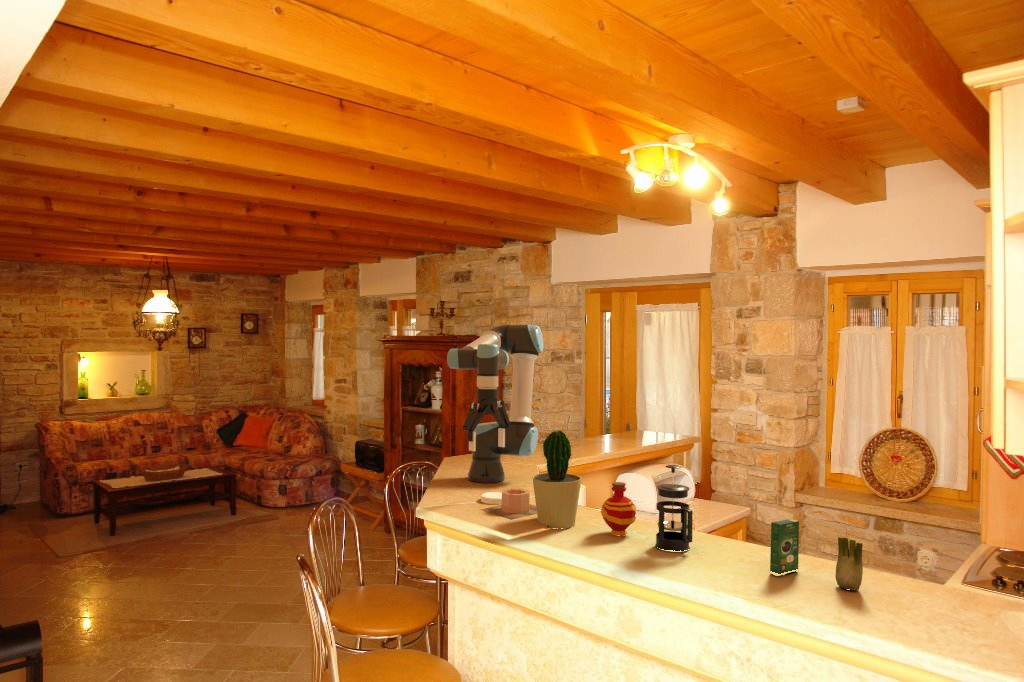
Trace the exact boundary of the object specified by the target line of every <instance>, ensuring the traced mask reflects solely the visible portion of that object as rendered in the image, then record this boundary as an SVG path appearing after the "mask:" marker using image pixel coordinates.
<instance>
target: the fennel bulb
mask: <svg viewBox="0 0 1024 682" xmlns="http://www.w3.org/2000/svg"><path fill="white" fill-rule="evenodd" d="M837 543H838V544H837V545H838V556H837V561H836V567H835V580H836V583H837V585H838V587H840V588H841V587H842V588H841V589H843V588H845V589H850V590H858V591H859V590H860V587H861V585H862V581H863V580H862V579H863V572H864V571H863V570H864V569H863V567H864V566H863V545H864V544H863V543H862V542H861V541H857V540H856V539H852V538H851V539H849V538H848V537H844V536H838V537H837ZM845 589H844V590H845Z"/></svg>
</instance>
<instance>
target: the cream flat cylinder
mask: <svg viewBox="0 0 1024 682" xmlns="http://www.w3.org/2000/svg"><path fill="white" fill-rule="evenodd" d="M480 497H481V499H480V501H481V502H482V503H483V504H486V505H502V491H501V492H500V491H491V492H490V491H489V492H483V493H482V494H481V495H480Z"/></svg>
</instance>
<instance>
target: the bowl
mask: <svg viewBox="0 0 1024 682" xmlns="http://www.w3.org/2000/svg"><path fill="white" fill-rule="evenodd" d="M501 492H502V504H501V505H502V511H503V512H507V513H520V514H521V513H525V512H529V504H530V490H528V489H524V488H507V489H503V490H502V491H501Z"/></svg>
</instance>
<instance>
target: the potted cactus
mask: <svg viewBox="0 0 1024 682" xmlns="http://www.w3.org/2000/svg"><path fill="white" fill-rule="evenodd" d="M564 431H565V430H563V431H562V430H559V429H558V430H557V429H555V430H554V431H550V433H549V435H546V437H545V439H544V440H543V441H541V443H542V444H543V445H542V458H544V459H545V462H546V465H545V467H546V471H547V472H542V473H537V474H534V475H533V476H532V486H533V491H534V499H535V501H534V502H535V506H536V509H537V514H536V516H537V521H538V523H539V524H542V525H547V526H546V527H547V528H558V529H557V530H562V529H561V528H569V527H572V526H573V527H575V525H576V524H575V523H576V520H577V519H576V518H577V517H576V516H577V510H578V504H579V497H580V491H581V484H582V477H581V476H580V475H578V474H574V473H570V472H569V471H570V470H569V468H570V467H571V465H570V463H569V462H572V460H573V459H572V449H571V448H572V447H573V445H571V440H570V439H569V436H567V435H566V434H565V433H566V432H567V431H566V432H564ZM573 527H572V528H573ZM547 528H546V529H547ZM569 529H570V528H569Z"/></svg>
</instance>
